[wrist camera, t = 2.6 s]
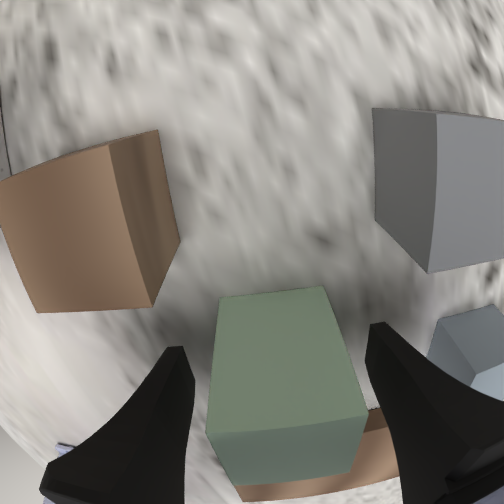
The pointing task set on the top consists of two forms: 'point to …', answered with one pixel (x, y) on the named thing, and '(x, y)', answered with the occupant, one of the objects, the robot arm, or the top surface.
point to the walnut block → (92, 226)
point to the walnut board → (361, 474)
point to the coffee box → (3, 156)
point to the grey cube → (440, 185)
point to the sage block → (282, 389)
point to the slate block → (472, 349)
